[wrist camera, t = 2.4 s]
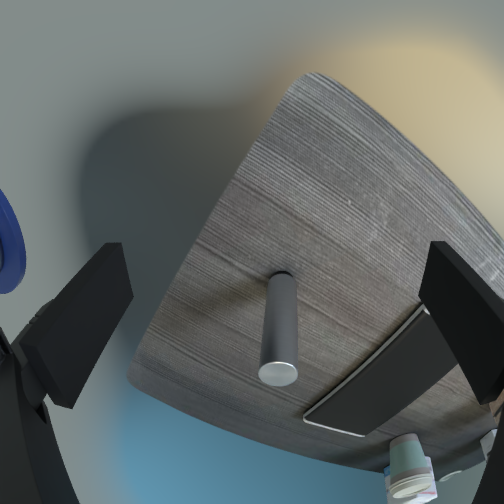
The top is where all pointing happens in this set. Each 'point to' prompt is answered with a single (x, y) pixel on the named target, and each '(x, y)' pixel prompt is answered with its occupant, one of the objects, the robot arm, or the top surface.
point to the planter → (497, 406)
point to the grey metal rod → (280, 332)
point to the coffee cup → (408, 467)
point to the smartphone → (387, 379)
